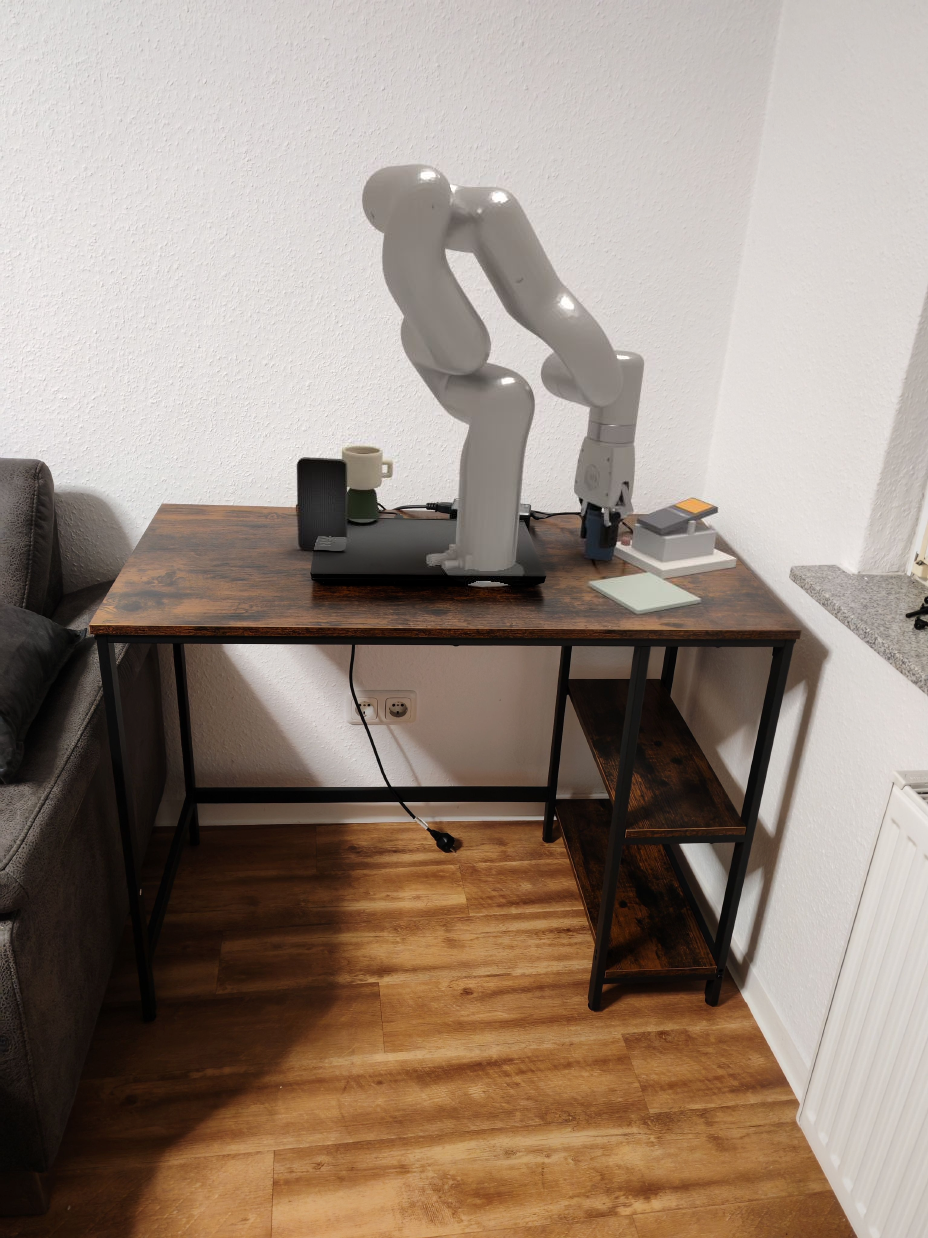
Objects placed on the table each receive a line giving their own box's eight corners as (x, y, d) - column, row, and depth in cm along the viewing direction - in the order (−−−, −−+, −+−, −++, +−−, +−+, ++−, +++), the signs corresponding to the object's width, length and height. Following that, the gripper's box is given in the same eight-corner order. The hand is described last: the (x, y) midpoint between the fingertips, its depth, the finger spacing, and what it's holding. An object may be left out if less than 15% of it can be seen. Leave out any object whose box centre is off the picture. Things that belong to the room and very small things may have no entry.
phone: (347, 549, 147) (347, 459, 141) (346, 552, 146) (346, 460, 140) (298, 547, 147) (296, 456, 141) (297, 550, 146) (295, 458, 140)
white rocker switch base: (661, 579, 143) (668, 532, 140) (607, 551, 154) (612, 507, 151) (735, 566, 150) (743, 522, 147) (678, 541, 161) (685, 499, 158)
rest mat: (637, 614, 129) (638, 610, 129) (587, 585, 138) (588, 581, 138) (700, 602, 135) (701, 598, 134) (648, 575, 144) (648, 572, 144)
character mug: (387, 515, 166) (389, 444, 161) (394, 526, 160) (397, 454, 155) (328, 516, 163) (328, 444, 158) (333, 528, 157) (333, 454, 152)
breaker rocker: (661, 534, 145) (660, 527, 144) (637, 523, 150) (637, 517, 149) (717, 513, 149) (717, 506, 149) (692, 503, 154) (692, 496, 153)
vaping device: (582, 553, 152) (590, 483, 148) (613, 557, 151) (623, 487, 147) (580, 557, 150) (588, 487, 145) (612, 562, 149) (621, 491, 144)
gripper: (561, 422, 147) (550, 529, 154) (626, 445, 134) (611, 561, 141) (597, 420, 151) (585, 525, 158) (664, 442, 137) (648, 556, 145)
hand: (597, 541), depth 149 cm, fingers closed on vaping device, 4 cm apart
